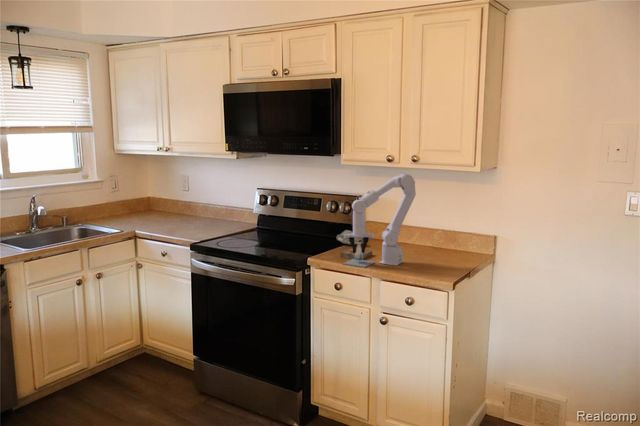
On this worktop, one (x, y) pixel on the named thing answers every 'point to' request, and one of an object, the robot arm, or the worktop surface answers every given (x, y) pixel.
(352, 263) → the mat
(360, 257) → the plug
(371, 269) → the worktop surface
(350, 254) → the bore block
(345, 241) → the rock
